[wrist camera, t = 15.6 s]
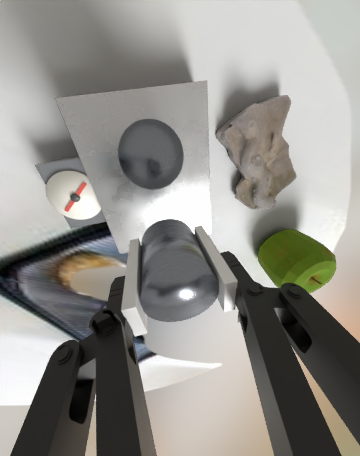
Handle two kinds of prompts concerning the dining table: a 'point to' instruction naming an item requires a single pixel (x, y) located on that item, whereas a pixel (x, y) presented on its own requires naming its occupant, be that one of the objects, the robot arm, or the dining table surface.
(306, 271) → the apple
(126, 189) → the platform
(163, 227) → the cylinder
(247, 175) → the stone
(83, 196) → the scale
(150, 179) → the cylinder
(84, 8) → the dining table surface
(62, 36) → the dining table surface
